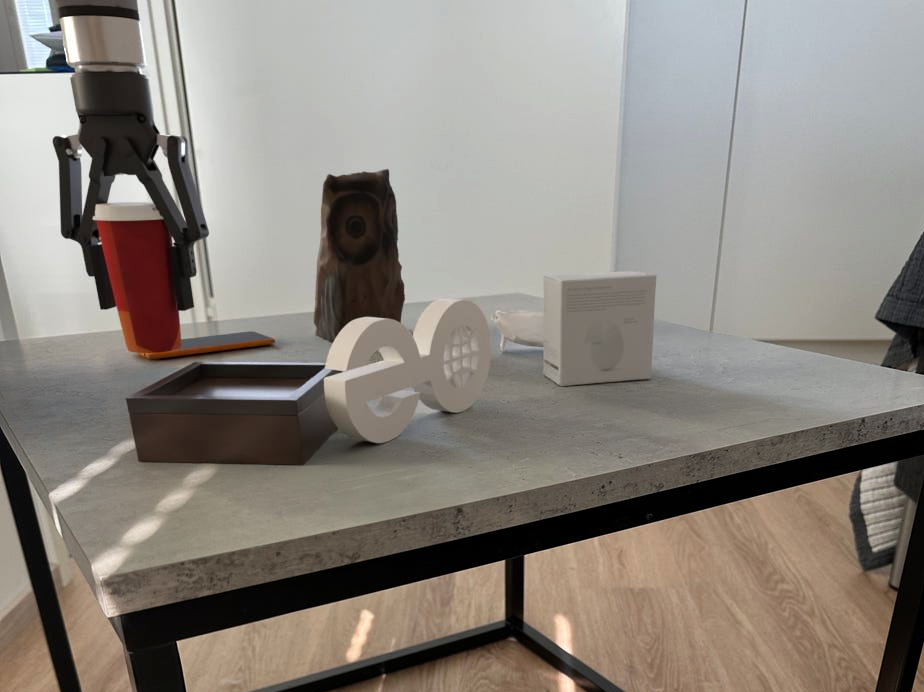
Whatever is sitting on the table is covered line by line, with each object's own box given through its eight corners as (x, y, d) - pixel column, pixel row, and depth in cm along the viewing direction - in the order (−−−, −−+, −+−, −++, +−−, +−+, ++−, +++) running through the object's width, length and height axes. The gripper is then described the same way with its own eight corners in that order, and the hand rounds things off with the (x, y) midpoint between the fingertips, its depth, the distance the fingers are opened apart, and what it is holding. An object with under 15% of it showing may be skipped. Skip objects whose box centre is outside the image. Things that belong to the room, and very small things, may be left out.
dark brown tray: (137, 461, 76) (125, 398, 73) (203, 417, 88) (194, 361, 85) (303, 465, 74) (296, 400, 72) (346, 419, 86) (341, 362, 84)
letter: (472, 397, 93) (471, 291, 88) (491, 399, 92) (490, 293, 87) (330, 452, 77) (318, 327, 72) (350, 456, 76) (340, 329, 71)
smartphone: (276, 344, 120) (275, 337, 119) (148, 361, 111) (147, 354, 111) (253, 336, 125) (252, 329, 125) (129, 351, 117) (128, 344, 116)
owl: (405, 328, 129) (396, 168, 120) (420, 344, 118) (412, 170, 109) (314, 333, 127) (298, 170, 117) (321, 350, 116) (304, 172, 106)
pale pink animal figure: (504, 368, 111) (585, 345, 110) (489, 310, 109) (572, 286, 108) (503, 368, 116) (581, 345, 115) (489, 312, 114) (568, 289, 113)
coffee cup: (206, 343, 108) (186, 201, 101) (163, 357, 101) (138, 205, 94) (146, 339, 110) (122, 200, 103) (99, 352, 103) (71, 204, 96)
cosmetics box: (629, 367, 104) (635, 268, 99) (652, 380, 99) (659, 275, 94) (540, 374, 102) (542, 272, 97) (559, 387, 96) (561, 280, 91)
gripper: (223, 73, 95) (249, 304, 106) (30, 75, 97) (75, 302, 108) (194, 67, 88) (226, 315, 99) (-12, 70, 91) (41, 312, 101)
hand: (147, 308), depth 103 cm, fingers closed on coffee cup, 8 cm apart
